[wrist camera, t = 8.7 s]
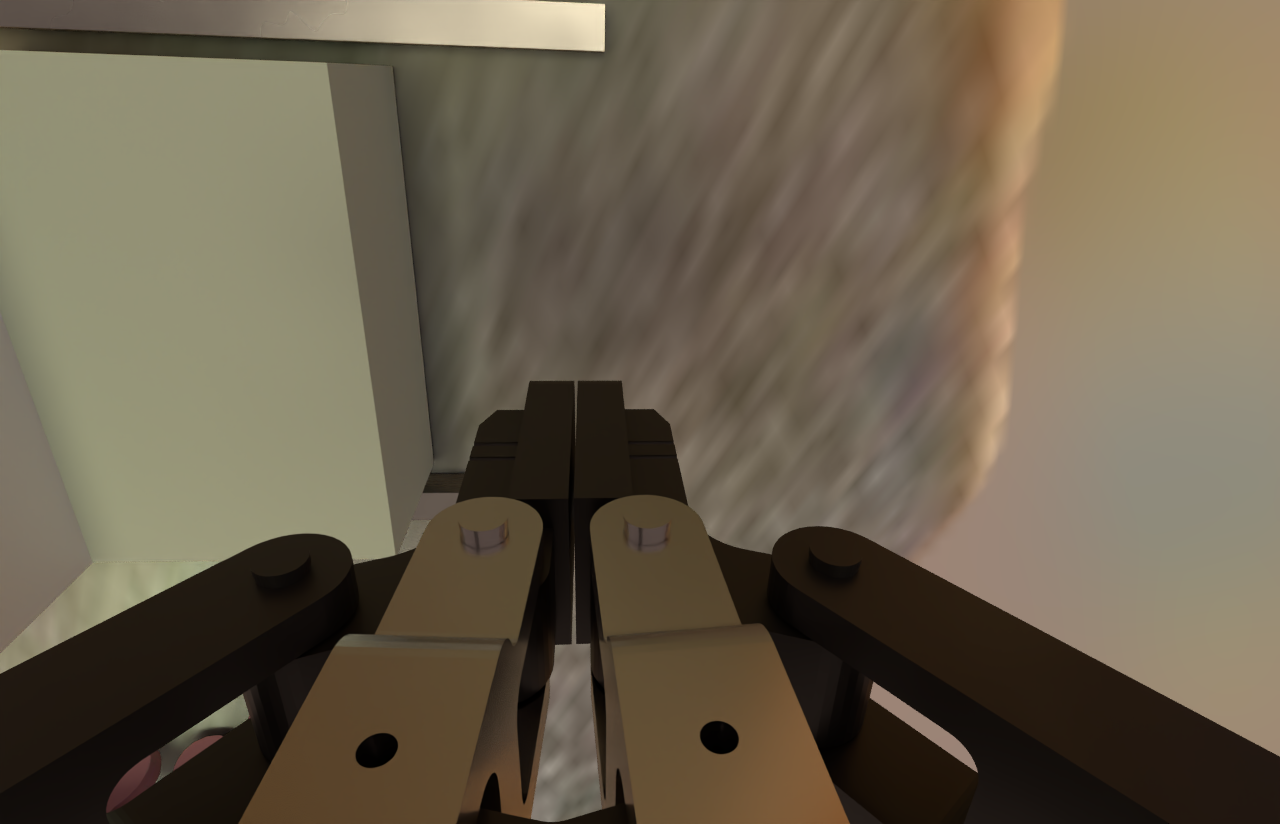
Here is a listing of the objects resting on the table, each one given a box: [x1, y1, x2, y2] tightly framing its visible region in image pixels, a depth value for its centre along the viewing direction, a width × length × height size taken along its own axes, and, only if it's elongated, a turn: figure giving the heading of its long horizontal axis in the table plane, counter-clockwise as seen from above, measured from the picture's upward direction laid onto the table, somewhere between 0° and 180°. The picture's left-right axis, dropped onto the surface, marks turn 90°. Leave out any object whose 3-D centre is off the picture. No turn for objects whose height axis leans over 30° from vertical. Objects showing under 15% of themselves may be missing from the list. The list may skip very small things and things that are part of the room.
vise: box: [0, 0, 605, 520], centre depth 16 cm, size 15×26×9 cm, turn 88°
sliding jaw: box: [0, 50, 434, 653], centre depth 16 cm, size 12×9×9 cm
